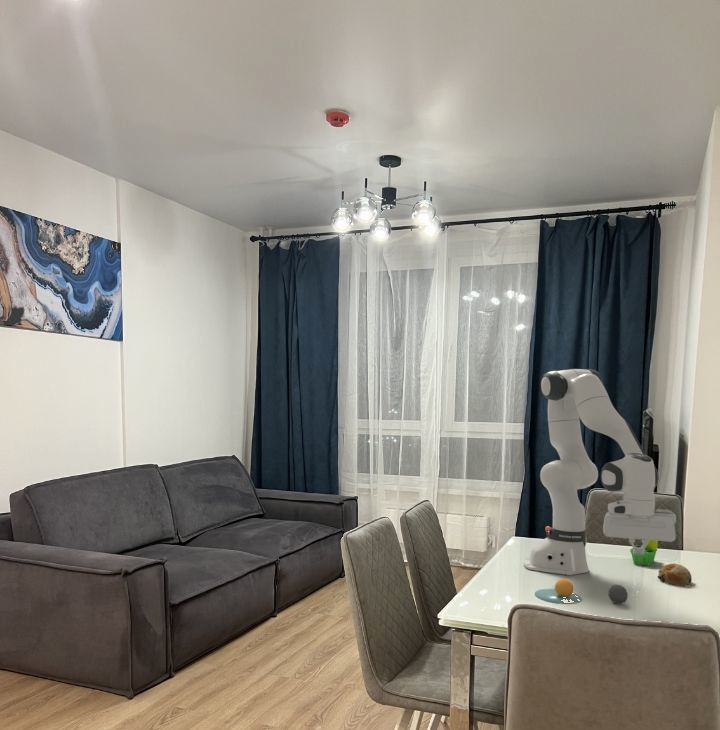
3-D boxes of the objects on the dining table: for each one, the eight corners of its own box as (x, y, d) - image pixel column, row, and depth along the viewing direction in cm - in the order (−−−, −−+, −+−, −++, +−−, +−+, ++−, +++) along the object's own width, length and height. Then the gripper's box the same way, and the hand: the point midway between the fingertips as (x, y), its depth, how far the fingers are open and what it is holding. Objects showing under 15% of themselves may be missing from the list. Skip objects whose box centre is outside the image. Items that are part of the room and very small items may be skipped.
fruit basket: (636, 557, 257) (637, 528, 258) (661, 561, 252) (661, 531, 253) (629, 563, 248) (629, 533, 249) (654, 568, 243) (655, 536, 243)
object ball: (567, 578, 203) (577, 594, 202) (567, 573, 208) (576, 589, 208) (551, 586, 204) (561, 602, 203) (551, 581, 210) (560, 597, 209)
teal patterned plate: (535, 601, 201) (535, 600, 201) (534, 587, 215) (534, 587, 215) (583, 606, 198) (583, 605, 198) (580, 592, 211) (580, 591, 211)
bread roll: (683, 598, 220) (695, 578, 218) (653, 580, 225) (664, 560, 223) (686, 591, 228) (698, 571, 227) (657, 573, 233) (668, 554, 232)
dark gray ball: (632, 593, 198) (625, 609, 199) (627, 585, 203) (620, 600, 204) (614, 587, 198) (607, 603, 199) (610, 578, 203) (603, 594, 204)
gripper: (673, 508, 202) (673, 554, 202) (602, 503, 207) (601, 548, 206) (678, 512, 196) (678, 559, 195) (604, 507, 201) (604, 553, 200)
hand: (638, 553), depth 201 cm, fingers closed
